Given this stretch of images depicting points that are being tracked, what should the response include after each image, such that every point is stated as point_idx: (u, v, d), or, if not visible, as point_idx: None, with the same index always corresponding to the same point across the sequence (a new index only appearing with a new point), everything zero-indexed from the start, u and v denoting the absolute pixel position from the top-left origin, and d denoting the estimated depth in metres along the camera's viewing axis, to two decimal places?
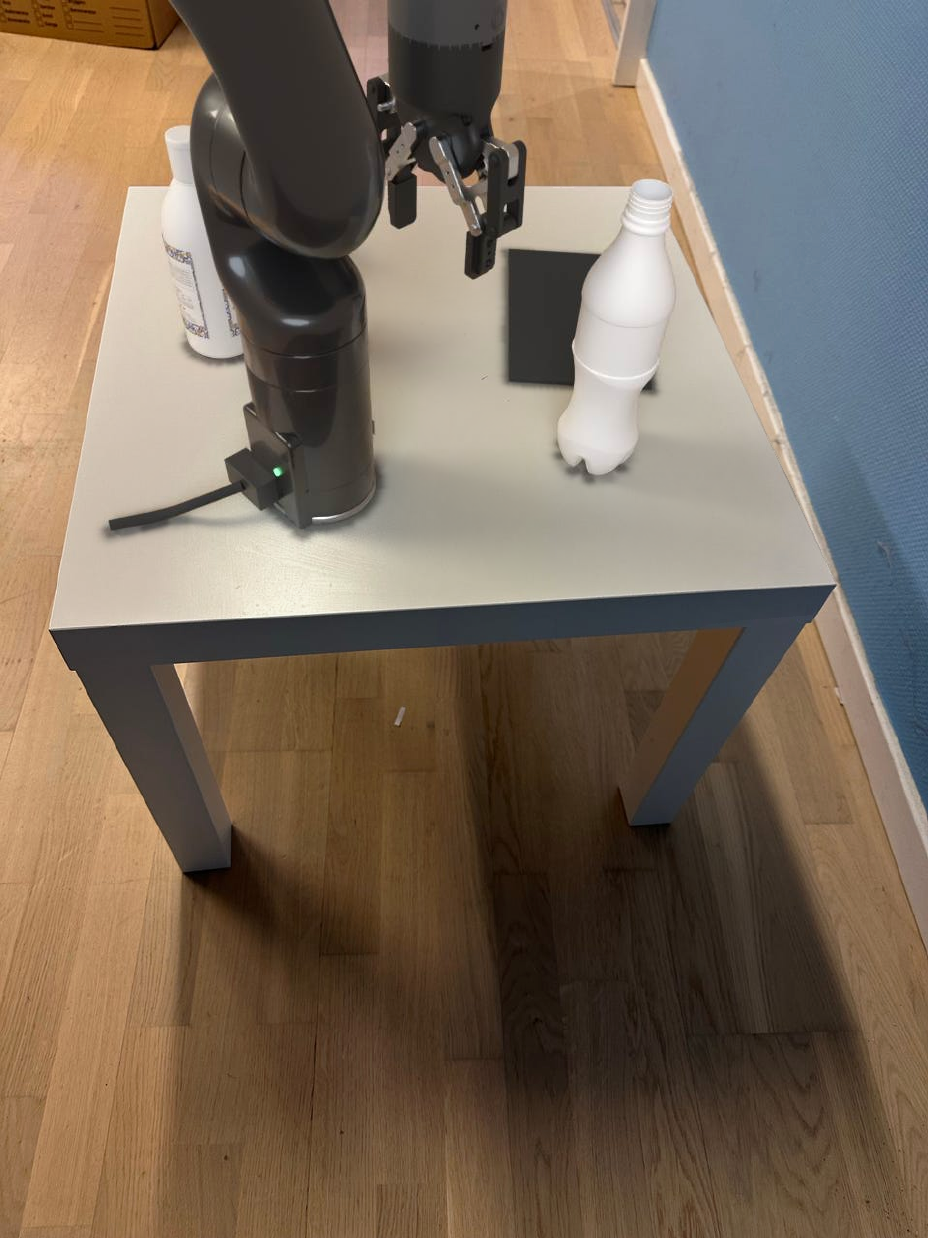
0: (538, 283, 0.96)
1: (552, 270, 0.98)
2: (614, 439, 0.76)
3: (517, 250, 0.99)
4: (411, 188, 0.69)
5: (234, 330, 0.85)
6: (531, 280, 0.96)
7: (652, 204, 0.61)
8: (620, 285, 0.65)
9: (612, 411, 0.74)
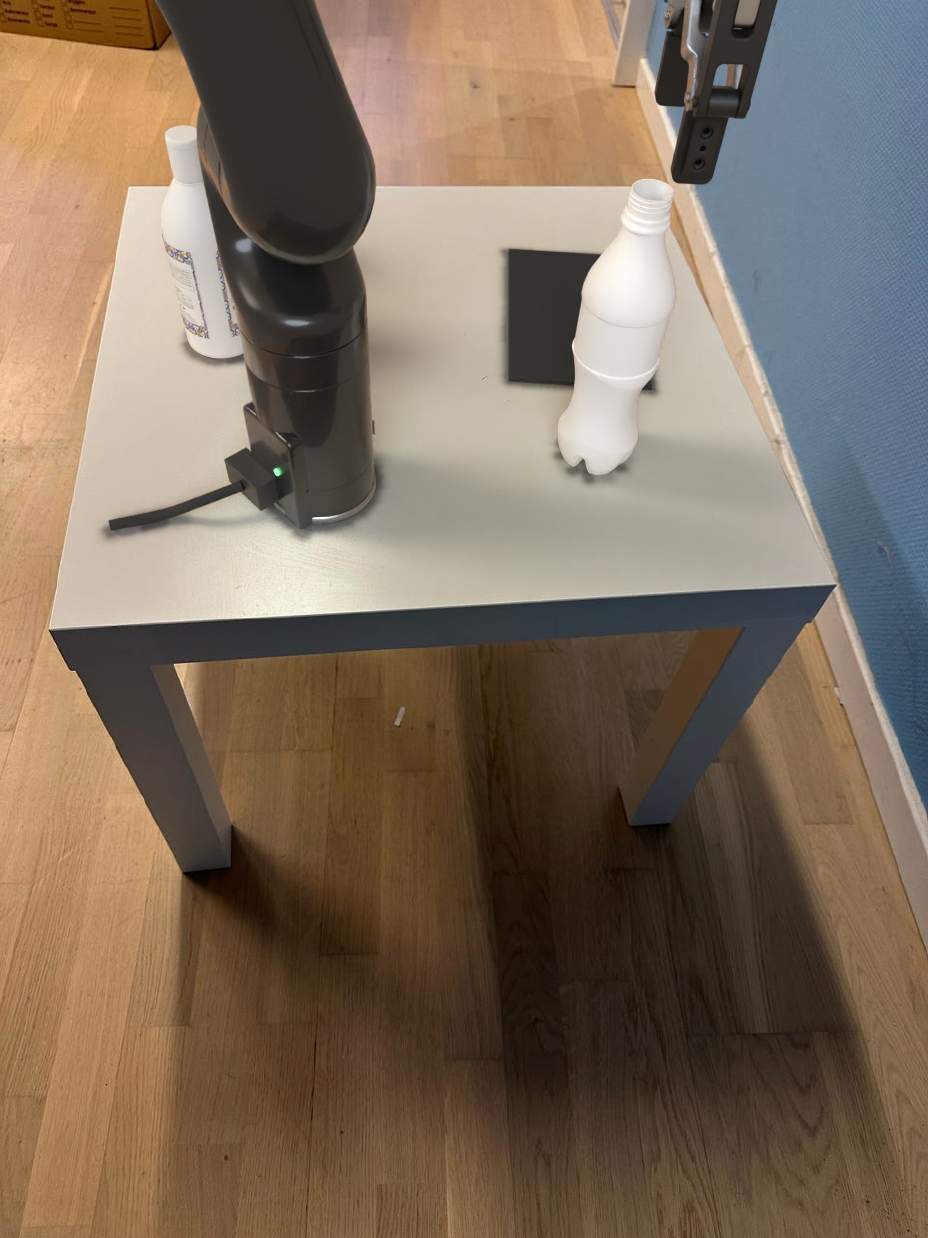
0: (538, 283, 0.96)
1: (552, 270, 0.98)
2: (614, 439, 0.76)
3: (517, 250, 0.99)
4: None
5: (234, 330, 0.85)
6: (531, 280, 0.96)
7: (652, 204, 0.61)
8: (620, 285, 0.65)
9: (612, 411, 0.74)
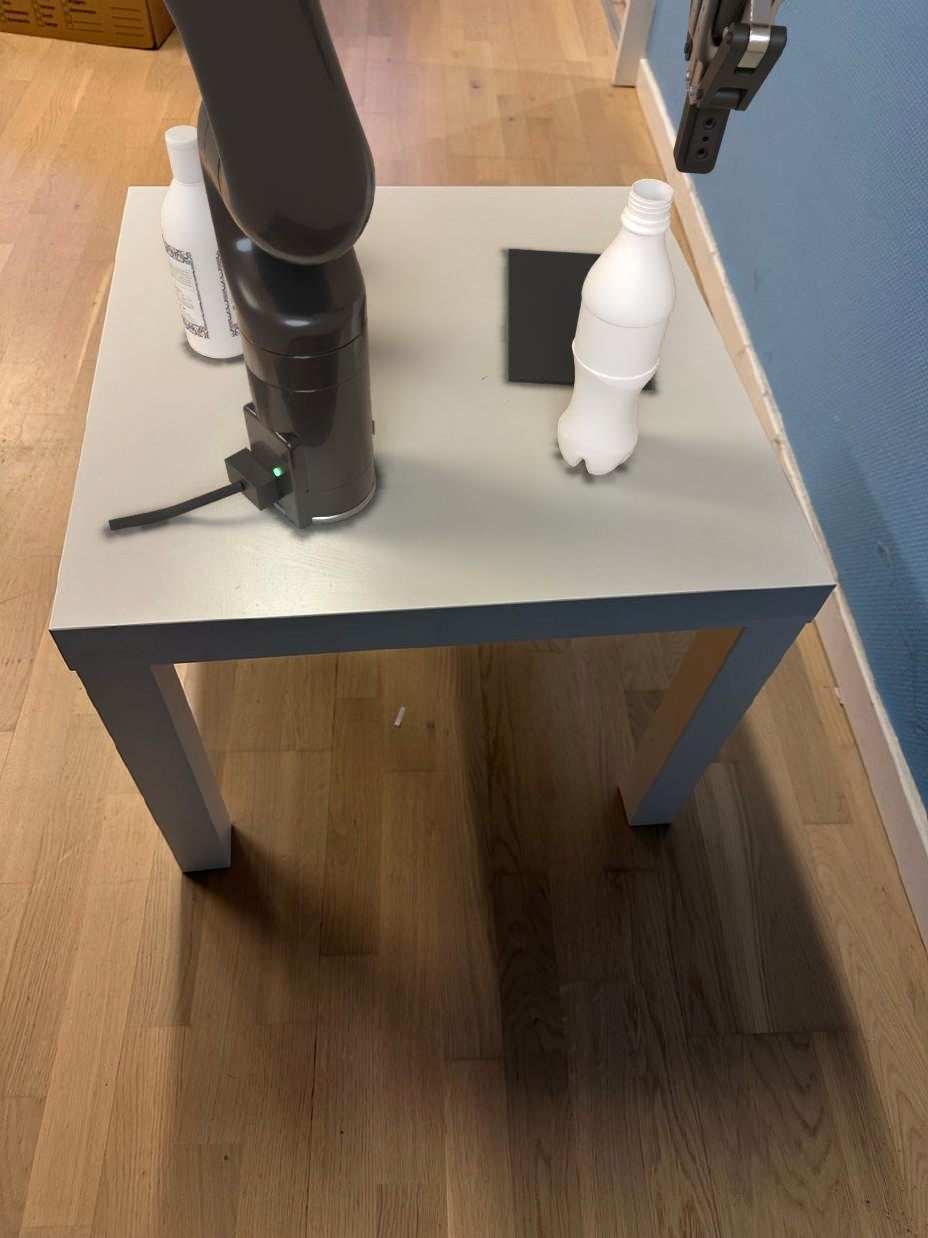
0: (538, 283, 0.96)
1: (552, 270, 0.98)
2: (614, 439, 0.76)
3: (517, 250, 0.99)
4: None
5: (234, 330, 0.85)
6: (531, 280, 0.96)
7: (652, 204, 0.61)
8: (620, 285, 0.65)
9: (612, 411, 0.74)
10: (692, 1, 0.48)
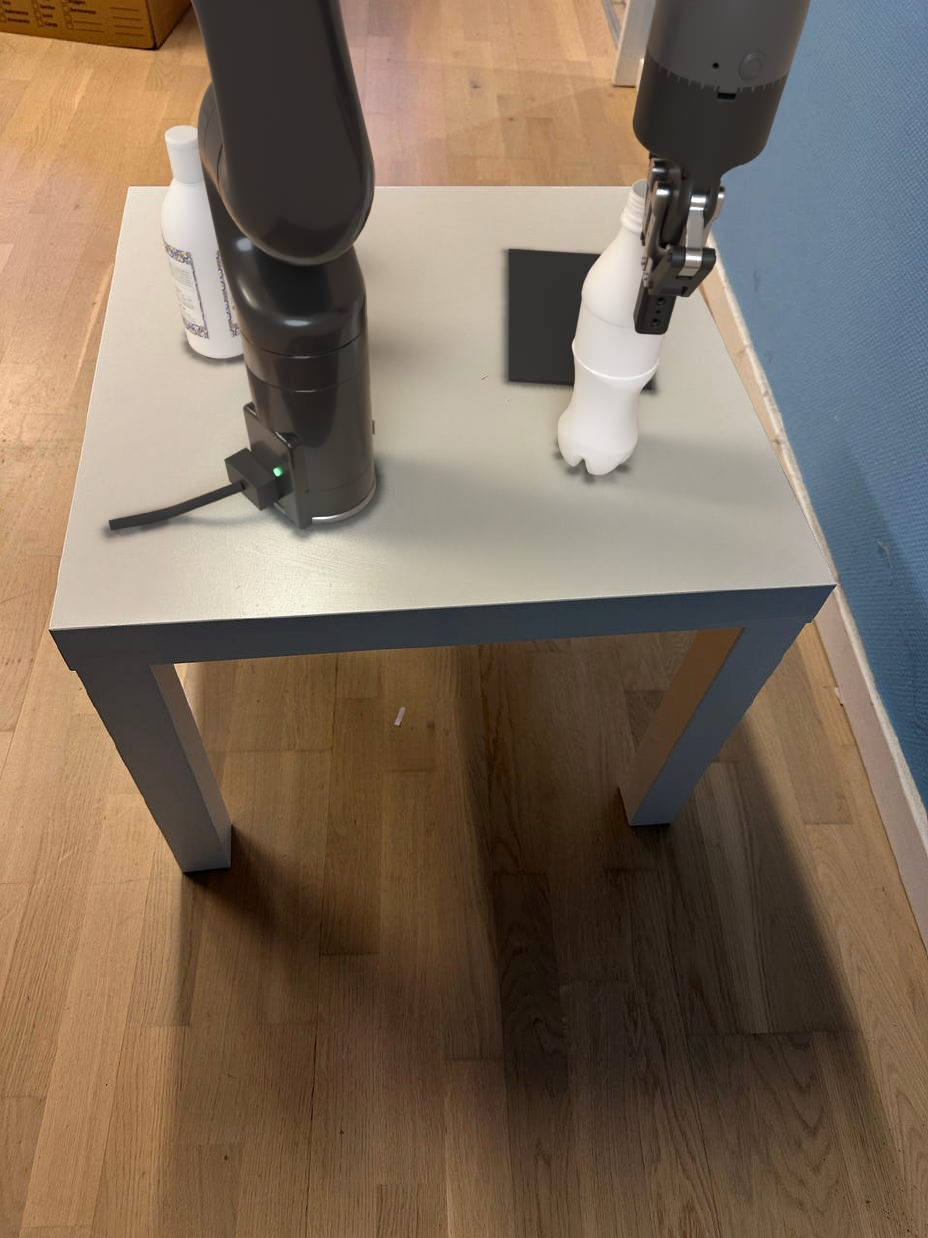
0: (538, 283, 0.96)
1: (552, 270, 0.98)
2: (614, 439, 0.76)
3: (517, 250, 0.99)
4: None
5: (234, 330, 0.85)
6: (531, 280, 0.96)
7: None
8: (620, 285, 0.65)
9: (612, 411, 0.74)
10: (646, 198, 0.57)
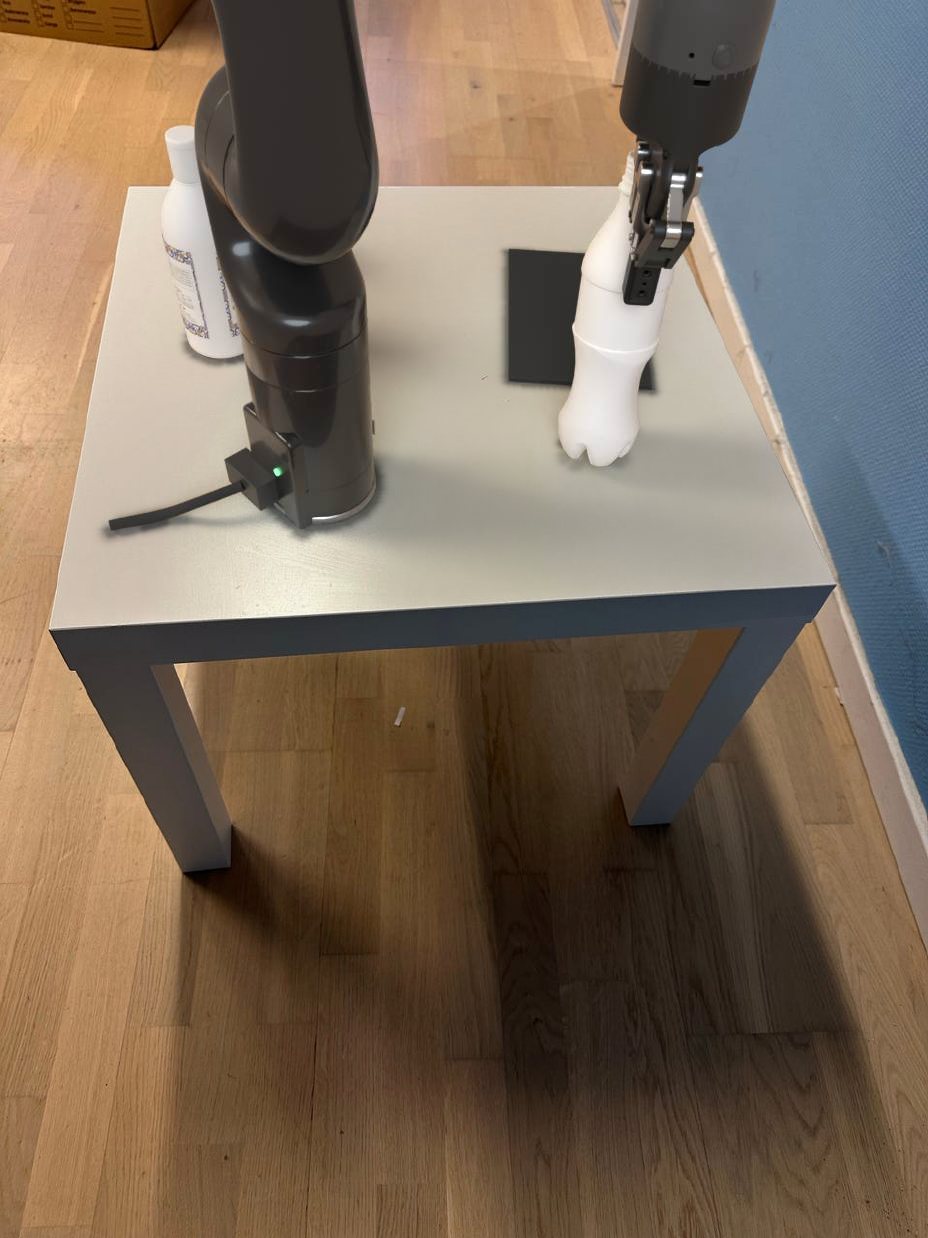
0: (538, 283, 0.96)
1: (552, 270, 0.98)
2: (616, 423, 0.76)
3: (517, 250, 0.99)
4: None
5: (234, 330, 0.85)
6: (531, 280, 0.96)
7: None
8: (620, 251, 0.66)
9: (613, 390, 0.74)
10: (634, 179, 0.63)
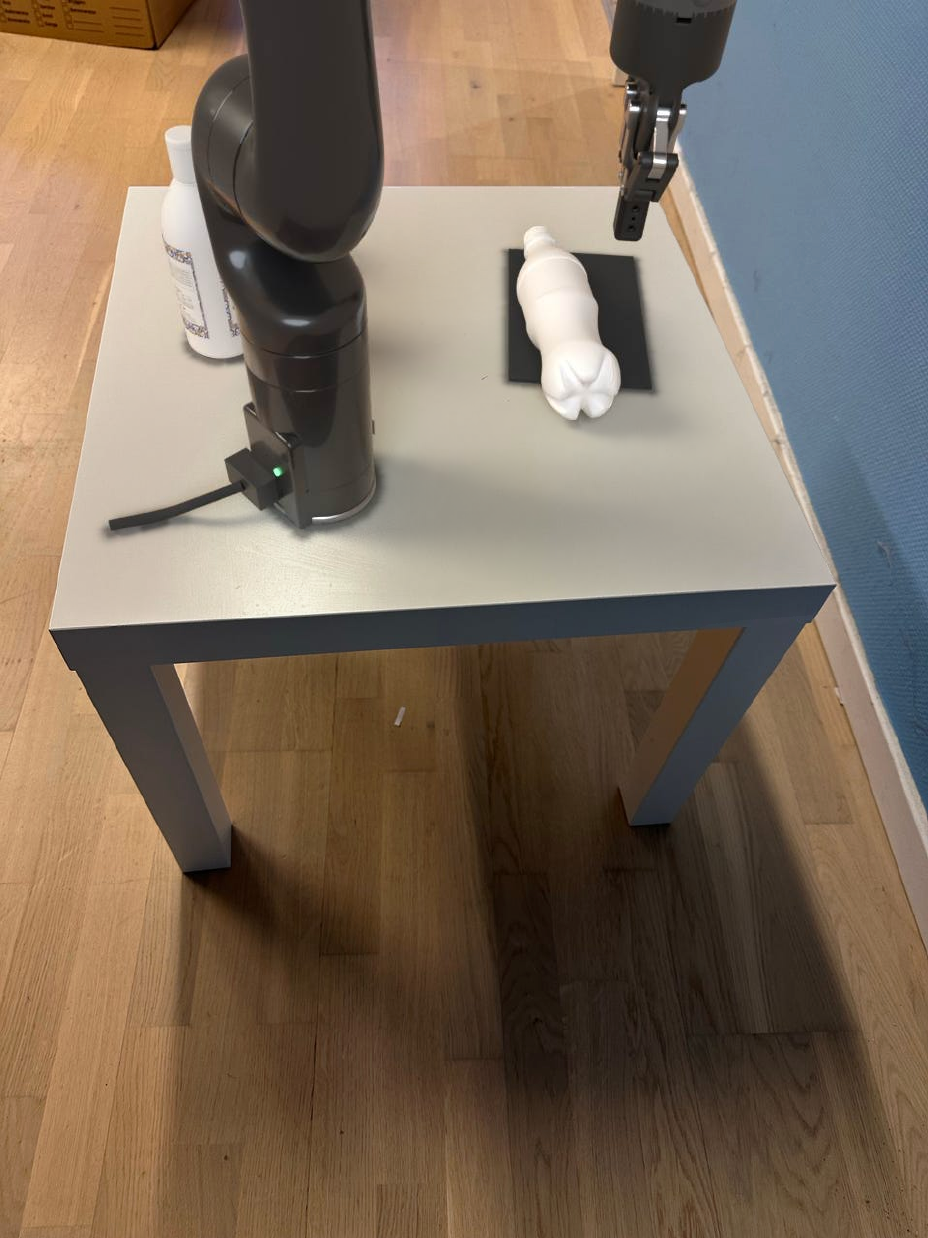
0: None
1: None
2: (582, 334, 0.80)
3: (517, 250, 0.99)
4: None
5: (234, 330, 0.85)
6: None
7: (534, 227, 0.93)
8: (531, 254, 0.89)
9: (567, 315, 0.82)
10: None
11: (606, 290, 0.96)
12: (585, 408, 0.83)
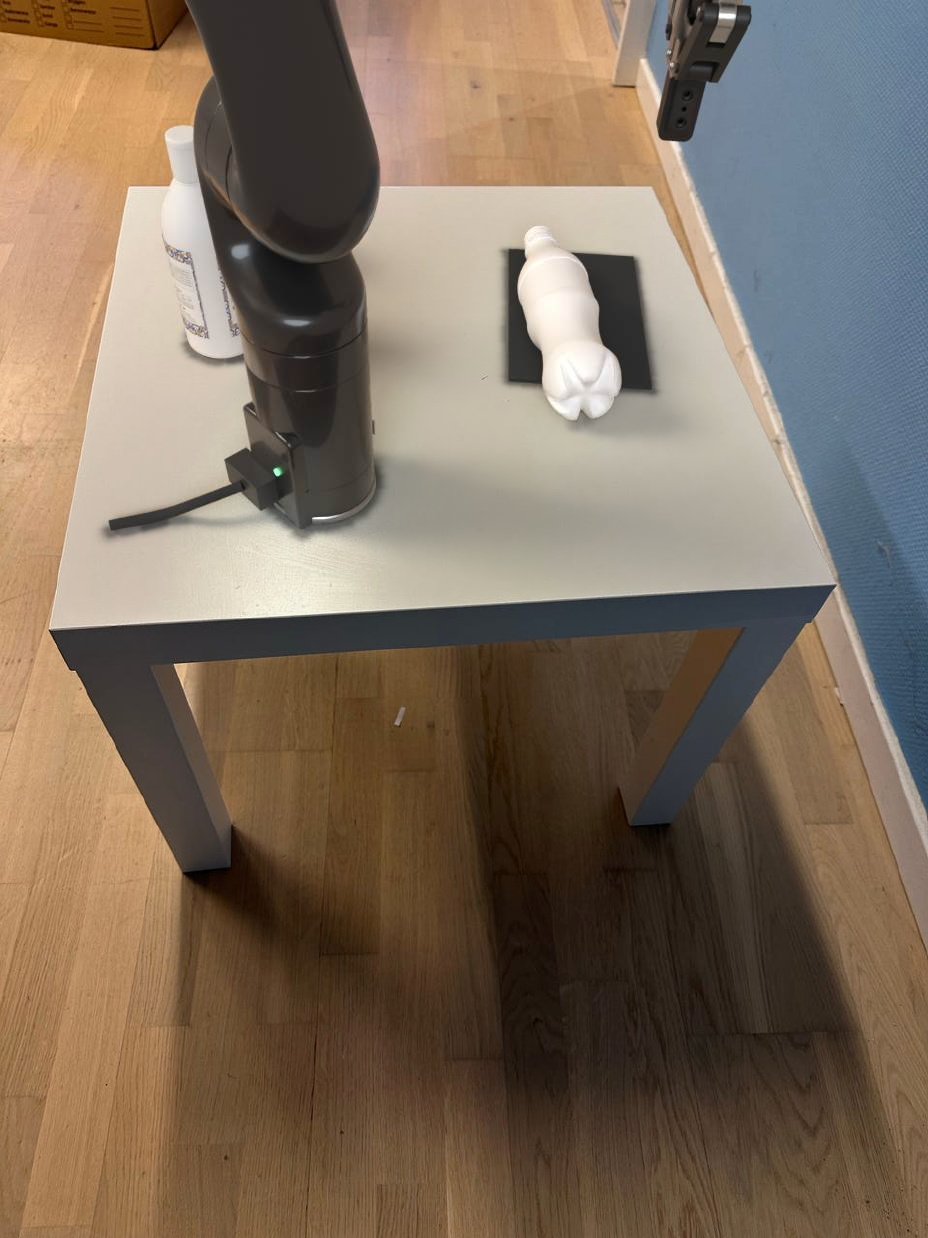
0: None
1: None
2: (584, 334, 0.80)
3: (517, 250, 0.99)
4: None
5: (234, 330, 0.85)
6: None
7: (535, 227, 0.93)
8: (533, 253, 0.89)
9: (569, 315, 0.82)
10: None
11: (606, 290, 0.96)
12: (585, 408, 0.83)
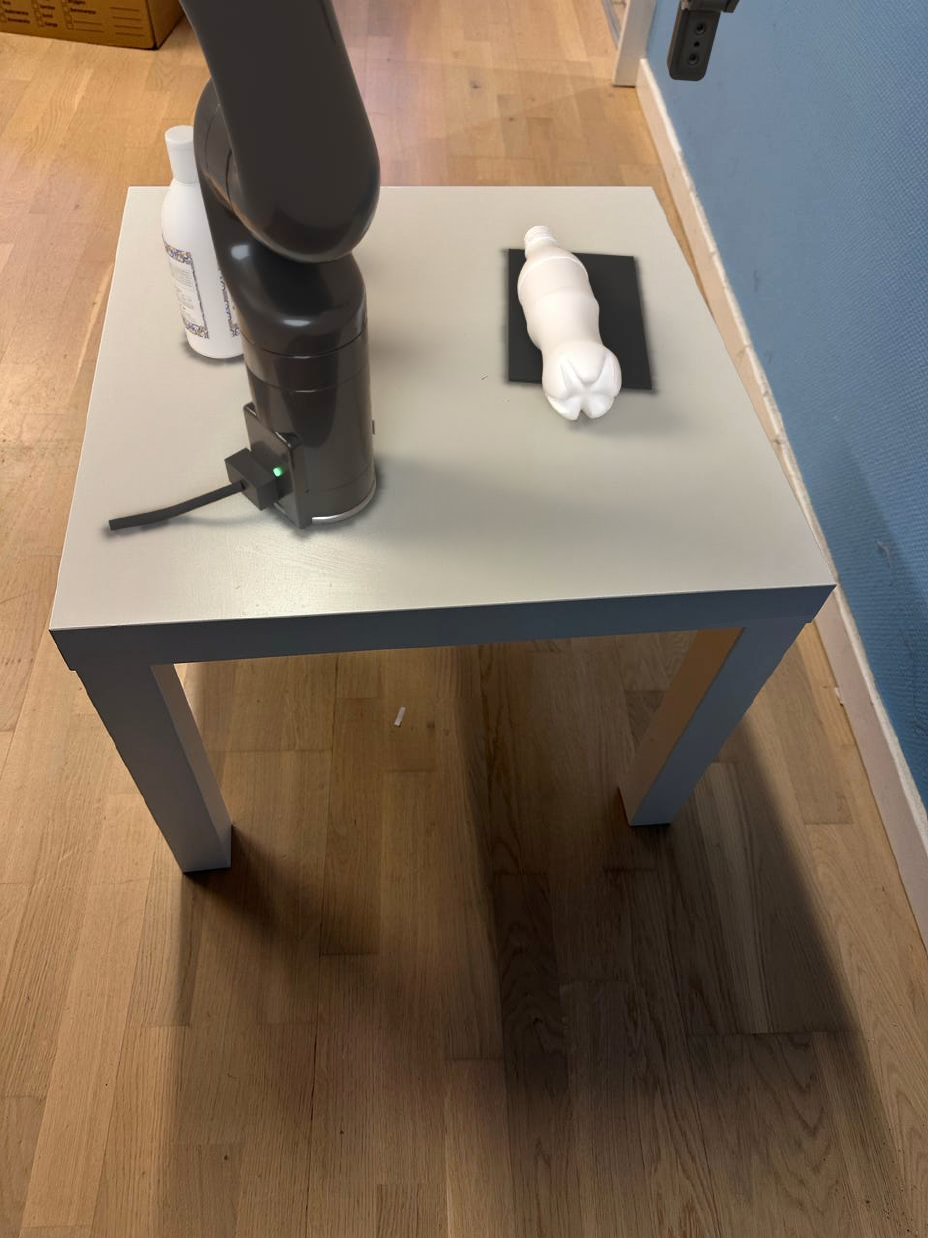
0: None
1: None
2: (584, 334, 0.80)
3: (517, 250, 0.99)
4: None
5: (234, 330, 0.85)
6: None
7: (535, 227, 0.93)
8: (533, 253, 0.89)
9: (569, 315, 0.82)
10: None
11: (606, 290, 0.96)
12: (585, 408, 0.83)
